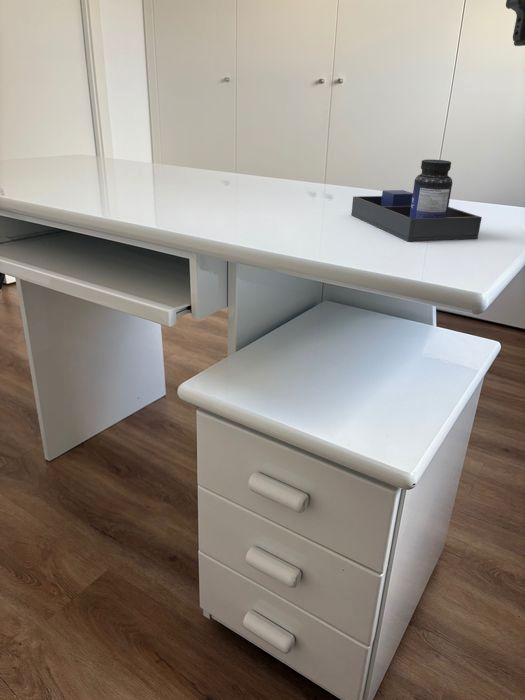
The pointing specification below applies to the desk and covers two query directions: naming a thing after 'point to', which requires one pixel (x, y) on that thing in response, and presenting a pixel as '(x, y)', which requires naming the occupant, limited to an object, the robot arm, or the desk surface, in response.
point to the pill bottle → (432, 190)
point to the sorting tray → (415, 221)
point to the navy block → (396, 198)
